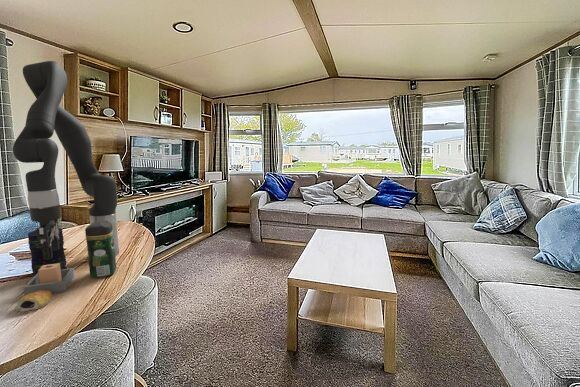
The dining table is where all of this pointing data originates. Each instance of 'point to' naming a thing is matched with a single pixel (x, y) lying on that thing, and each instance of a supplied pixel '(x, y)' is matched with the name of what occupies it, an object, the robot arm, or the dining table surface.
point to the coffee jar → (100, 249)
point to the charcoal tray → (54, 287)
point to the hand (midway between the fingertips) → (51, 254)
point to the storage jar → (38, 255)
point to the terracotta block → (50, 273)
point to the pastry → (34, 300)
